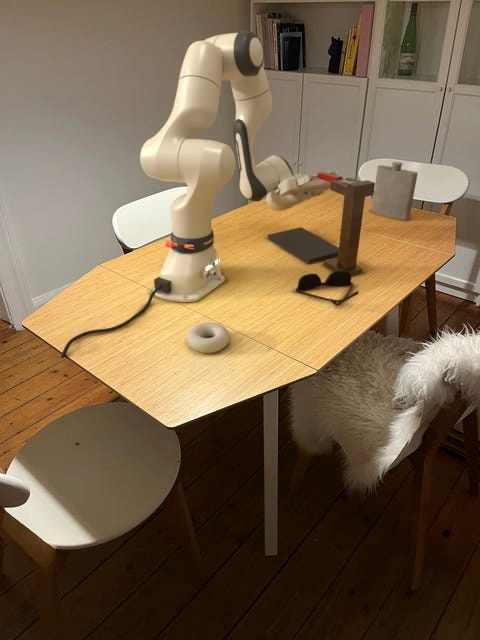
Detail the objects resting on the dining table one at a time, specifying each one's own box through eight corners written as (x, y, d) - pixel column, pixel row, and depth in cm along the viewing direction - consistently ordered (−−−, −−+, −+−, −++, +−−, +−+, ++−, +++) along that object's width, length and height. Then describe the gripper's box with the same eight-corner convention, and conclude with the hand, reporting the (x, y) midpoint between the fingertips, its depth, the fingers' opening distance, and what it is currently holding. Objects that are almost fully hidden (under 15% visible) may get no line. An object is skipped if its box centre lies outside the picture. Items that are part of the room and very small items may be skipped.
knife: (316, 178, 140) (316, 172, 139) (323, 177, 141) (323, 171, 140) (358, 189, 125) (358, 183, 125) (365, 188, 126) (366, 182, 126)
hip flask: (410, 219, 178) (420, 165, 167) (405, 221, 175) (414, 167, 165) (374, 209, 188) (381, 158, 177) (368, 211, 185) (375, 160, 175)
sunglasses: (311, 316, 120) (313, 299, 117) (294, 289, 132) (294, 274, 129) (372, 307, 123) (375, 291, 120) (349, 283, 135) (351, 267, 132)
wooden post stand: (323, 265, 145) (331, 177, 130) (341, 260, 148) (350, 174, 133) (344, 278, 137) (354, 186, 123) (362, 272, 140) (375, 182, 126)
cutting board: (267, 238, 164) (267, 234, 163) (300, 231, 169) (301, 227, 168) (308, 264, 146) (308, 259, 145) (343, 254, 151) (344, 250, 150)
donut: (230, 355, 106) (229, 330, 114) (229, 343, 104) (229, 318, 112) (185, 356, 106) (188, 331, 114) (184, 344, 104) (187, 319, 112)
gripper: (268, 183, 147) (291, 169, 134) (321, 174, 155) (347, 160, 142) (273, 203, 147) (296, 191, 135) (325, 193, 156) (352, 181, 143)
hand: (323, 175), depth 139 cm, fingers open, 8 cm apart
